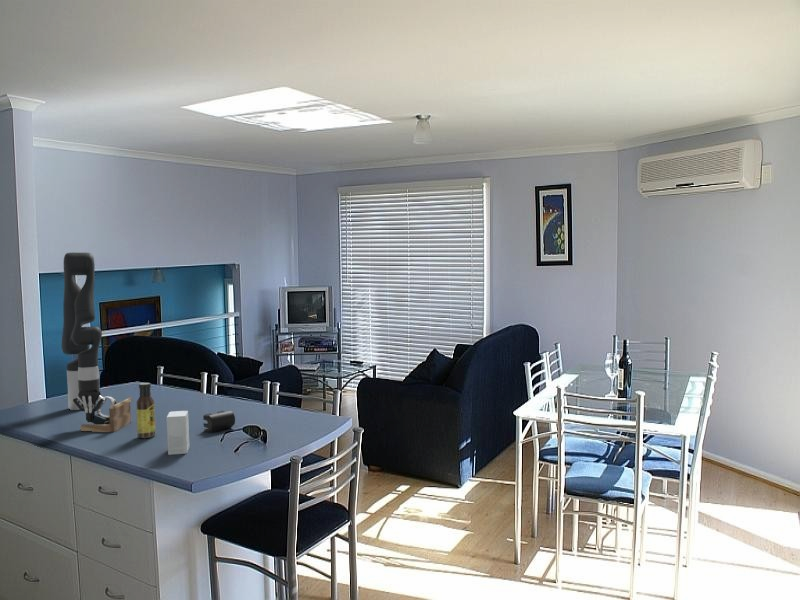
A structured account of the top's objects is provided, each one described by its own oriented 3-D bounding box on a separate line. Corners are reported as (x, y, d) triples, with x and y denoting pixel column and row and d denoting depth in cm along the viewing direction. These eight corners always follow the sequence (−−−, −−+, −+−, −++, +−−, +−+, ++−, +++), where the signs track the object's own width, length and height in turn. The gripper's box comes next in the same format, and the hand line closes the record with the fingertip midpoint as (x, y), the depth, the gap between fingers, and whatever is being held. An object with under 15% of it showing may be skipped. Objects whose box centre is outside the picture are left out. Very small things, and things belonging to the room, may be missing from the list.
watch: (107, 428, 262) (118, 402, 262) (87, 421, 261) (98, 395, 261) (112, 425, 267) (123, 400, 268) (92, 418, 267) (103, 392, 267)
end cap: (212, 434, 251) (212, 416, 250) (202, 431, 255) (202, 413, 255) (235, 429, 258) (235, 411, 257) (225, 425, 263) (225, 408, 262)
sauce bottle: (154, 438, 246) (152, 384, 244) (136, 439, 244) (134, 385, 243) (156, 433, 252) (154, 381, 251) (139, 435, 251) (136, 382, 249)
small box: (170, 448, 233) (169, 411, 232) (189, 446, 235) (188, 410, 234) (167, 455, 225) (166, 416, 224) (187, 453, 227) (185, 415, 226)
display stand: (99, 422, 270) (98, 397, 269) (133, 422, 269) (132, 397, 268) (81, 431, 256) (79, 405, 255) (116, 431, 255) (114, 405, 254)
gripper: (110, 376, 264) (111, 419, 265) (77, 376, 265) (79, 419, 266) (100, 379, 257) (101, 424, 258) (66, 379, 258) (68, 424, 259)
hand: (90, 421), depth 262 cm, fingers closed
